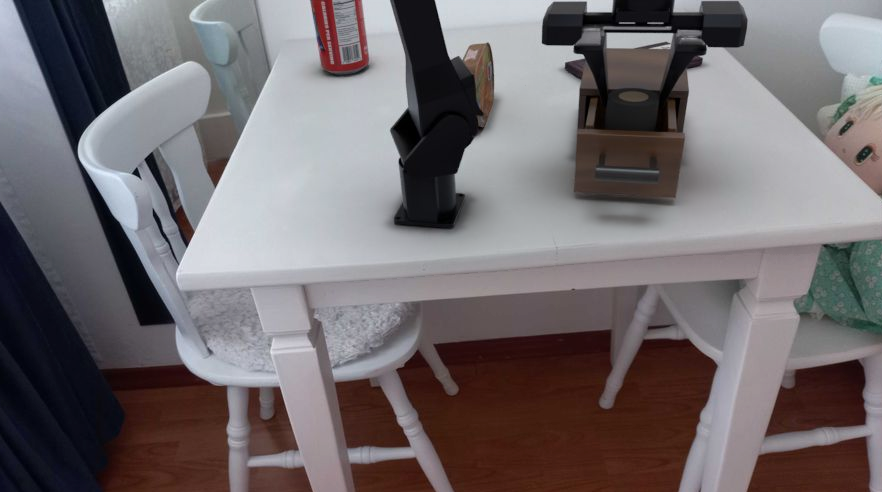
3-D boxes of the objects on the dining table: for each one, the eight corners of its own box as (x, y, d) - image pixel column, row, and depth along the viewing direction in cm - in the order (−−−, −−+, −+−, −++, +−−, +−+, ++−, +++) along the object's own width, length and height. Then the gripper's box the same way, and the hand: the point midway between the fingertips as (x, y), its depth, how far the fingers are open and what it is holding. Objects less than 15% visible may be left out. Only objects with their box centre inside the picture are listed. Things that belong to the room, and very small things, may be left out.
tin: (480, 138, 89) (478, 73, 84) (456, 137, 89) (452, 73, 84) (496, 92, 101) (495, 33, 96) (475, 92, 101) (472, 34, 96)
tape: (654, 141, 71) (659, 106, 69) (602, 137, 72) (606, 104, 70) (655, 121, 75) (659, 88, 73) (605, 118, 76) (609, 86, 74)
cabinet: (678, 163, 80) (689, 91, 75) (575, 158, 83) (579, 88, 78) (675, 115, 90) (684, 49, 85) (584, 112, 93) (588, 47, 88)
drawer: (676, 219, 69) (686, 156, 65) (570, 212, 71) (573, 151, 67) (673, 145, 82) (681, 89, 78) (582, 141, 84) (586, 87, 80)
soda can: (350, 80, 109) (335, -22, 100) (312, 73, 112) (294, -26, 104) (379, 63, 114) (368, -35, 105) (342, 58, 118) (327, -38, 109)
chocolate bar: (565, 62, 106) (666, 41, 110) (564, 68, 106) (665, 47, 111) (596, 81, 99) (702, 58, 103) (595, 87, 99) (702, 64, 104)
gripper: (749, -76, 68) (721, 81, 77) (556, -70, 72) (551, 77, 81) (763, -50, 59) (729, 122, 68) (542, -46, 64) (539, 115, 73)
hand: (632, 107), depth 73 cm, fingers closed on tape, 5 cm apart
